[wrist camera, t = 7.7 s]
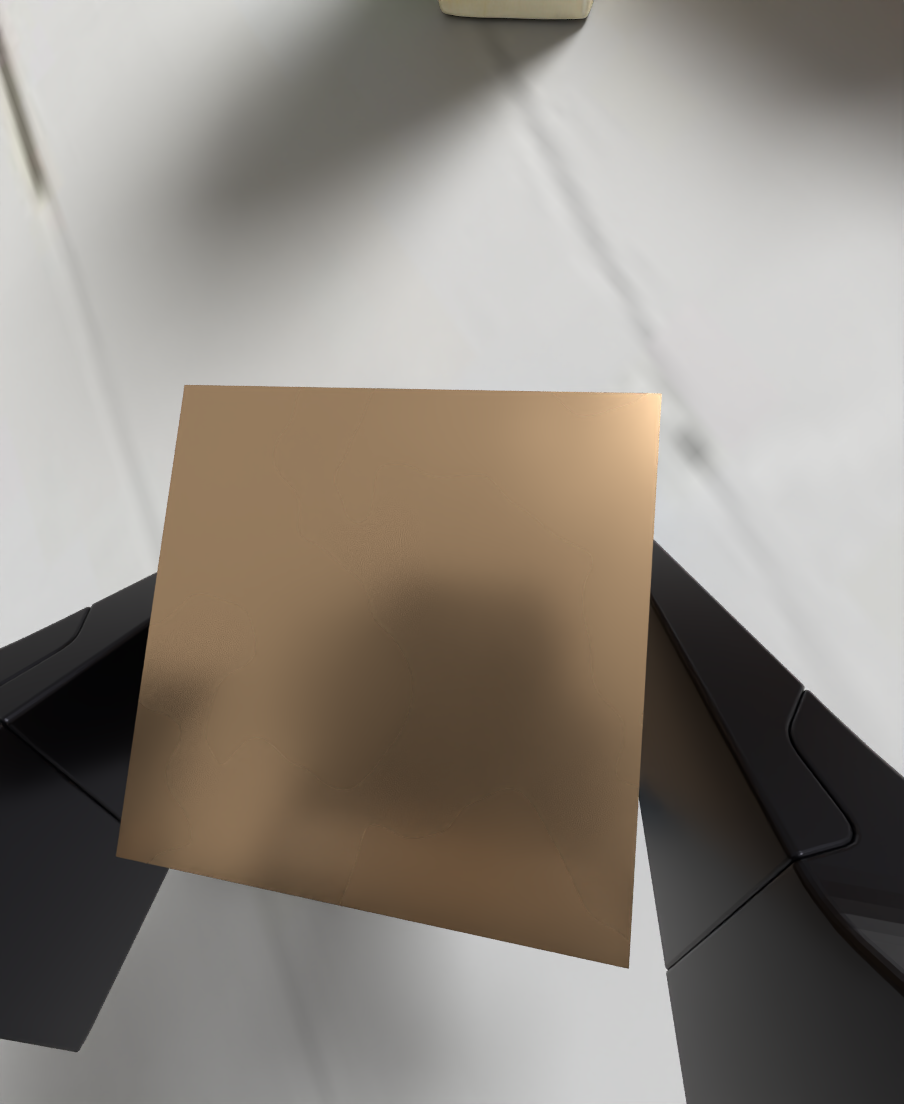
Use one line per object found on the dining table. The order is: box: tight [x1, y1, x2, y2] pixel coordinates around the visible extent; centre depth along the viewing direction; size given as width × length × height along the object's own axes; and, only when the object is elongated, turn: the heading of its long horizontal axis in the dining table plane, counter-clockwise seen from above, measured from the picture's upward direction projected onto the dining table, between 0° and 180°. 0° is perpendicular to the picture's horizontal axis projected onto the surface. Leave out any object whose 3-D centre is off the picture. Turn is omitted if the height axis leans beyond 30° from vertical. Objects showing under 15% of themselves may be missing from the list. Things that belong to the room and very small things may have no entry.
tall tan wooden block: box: [116, 385, 661, 969], centre depth 10 cm, size 5×5×12 cm
